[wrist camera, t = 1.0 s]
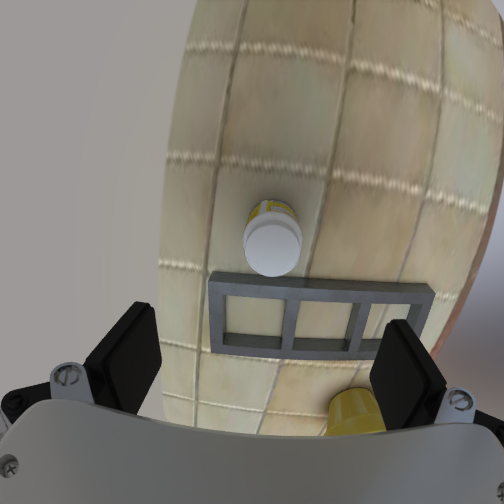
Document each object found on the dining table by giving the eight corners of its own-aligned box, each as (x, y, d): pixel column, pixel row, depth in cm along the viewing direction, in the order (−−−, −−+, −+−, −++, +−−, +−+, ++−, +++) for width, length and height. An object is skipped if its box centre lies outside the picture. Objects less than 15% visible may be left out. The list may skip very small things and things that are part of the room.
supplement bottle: (257, 250, 29) (250, 289, 21) (242, 206, 28) (228, 231, 20) (302, 236, 28) (312, 271, 20) (289, 192, 27) (295, 210, 19)
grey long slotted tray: (212, 271, 30) (208, 281, 28) (426, 283, 29) (435, 293, 27) (214, 340, 34) (210, 352, 32) (405, 346, 32) (411, 357, 30)
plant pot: (387, 371, 34) (407, 423, 25) (379, 412, 37) (392, 459, 28) (316, 384, 35) (322, 442, 26) (318, 424, 39) (322, 473, 30)
